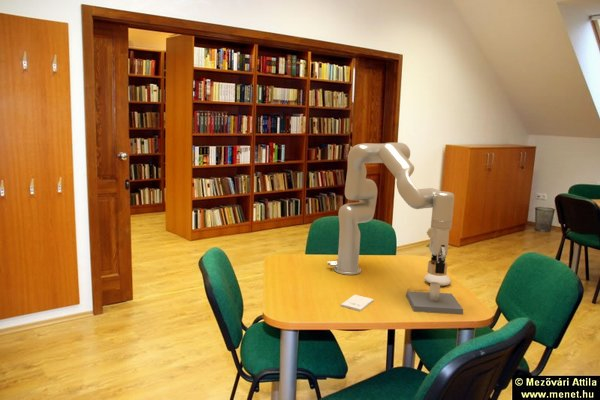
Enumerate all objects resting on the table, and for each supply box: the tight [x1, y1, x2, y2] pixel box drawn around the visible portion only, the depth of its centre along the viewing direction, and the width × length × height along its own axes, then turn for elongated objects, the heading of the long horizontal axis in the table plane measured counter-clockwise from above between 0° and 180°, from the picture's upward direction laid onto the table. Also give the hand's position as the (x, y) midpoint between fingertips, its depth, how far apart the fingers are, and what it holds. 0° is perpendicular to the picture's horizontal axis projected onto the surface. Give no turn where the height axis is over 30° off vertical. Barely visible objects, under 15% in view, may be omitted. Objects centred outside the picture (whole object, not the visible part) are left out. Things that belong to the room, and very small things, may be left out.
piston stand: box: [405, 282, 464, 315], centre depth 188 cm, size 18×16×8 cm
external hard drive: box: [340, 294, 374, 312], centre depth 186 cm, size 2×8×12 cm
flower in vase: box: [423, 227, 452, 287], centre depth 212 cm, size 13×11×25 cm
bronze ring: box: [426, 259, 448, 276], centre depth 186 cm, size 7×7×4 cm
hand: (437, 269), depth 187 cm, fingers closed on bronze ring, 6 cm apart
